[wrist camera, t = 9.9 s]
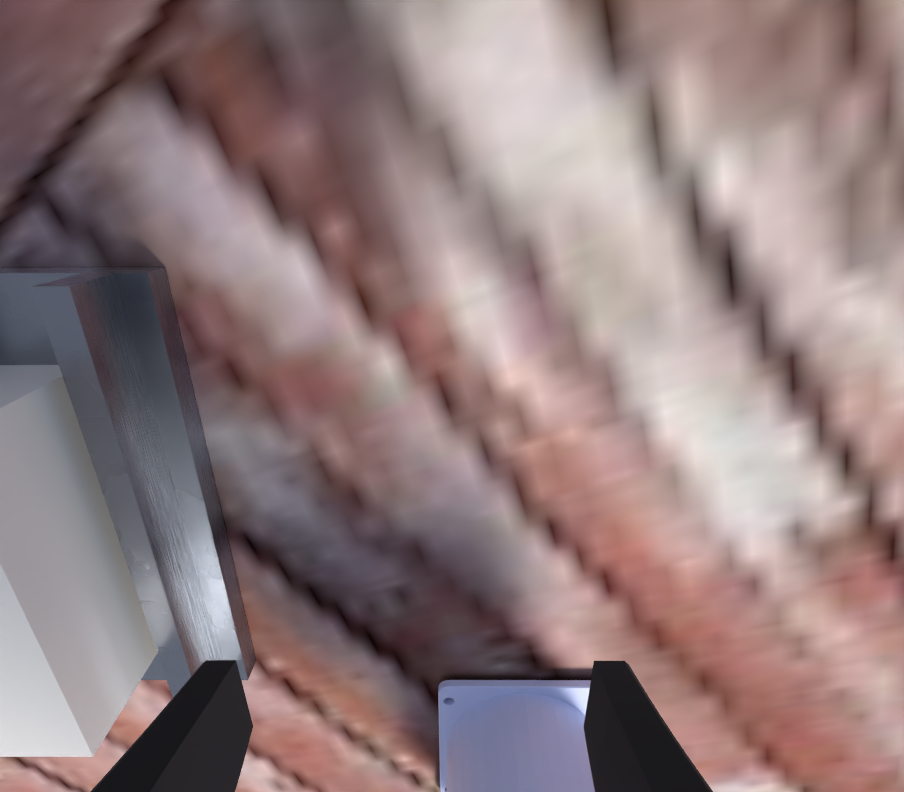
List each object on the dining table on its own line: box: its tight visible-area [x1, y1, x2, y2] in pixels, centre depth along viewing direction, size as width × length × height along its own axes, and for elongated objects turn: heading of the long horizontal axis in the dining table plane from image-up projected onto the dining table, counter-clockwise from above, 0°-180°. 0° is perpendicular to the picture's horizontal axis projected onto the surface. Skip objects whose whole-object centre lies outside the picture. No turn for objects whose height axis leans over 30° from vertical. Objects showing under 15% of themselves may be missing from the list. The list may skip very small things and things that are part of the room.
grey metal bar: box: [0, 365, 157, 757], centre depth 16 cm, size 12×4×5 cm, turn 0°
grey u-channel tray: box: [0, 267, 256, 698], centre depth 18 cm, size 18×9×3 cm, turn 0°
